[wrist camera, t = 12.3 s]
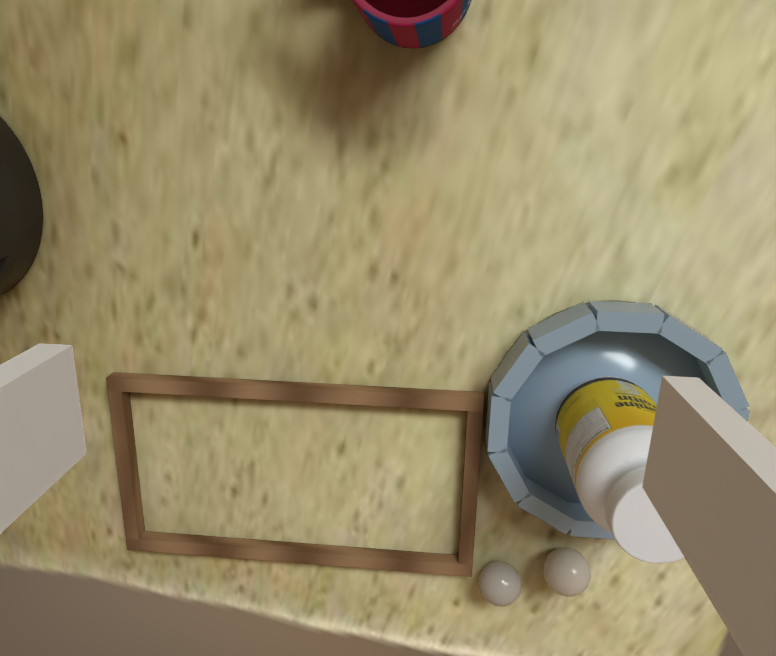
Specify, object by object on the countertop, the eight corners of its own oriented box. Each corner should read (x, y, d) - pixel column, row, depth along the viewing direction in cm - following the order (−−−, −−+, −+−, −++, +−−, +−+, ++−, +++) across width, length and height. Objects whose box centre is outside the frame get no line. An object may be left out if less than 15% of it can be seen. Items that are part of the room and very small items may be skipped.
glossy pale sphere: (476, 584, 46) (478, 614, 43) (479, 550, 45) (481, 578, 42) (517, 588, 45) (522, 618, 43) (520, 553, 45) (525, 581, 42)
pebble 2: (538, 573, 45) (544, 605, 42) (542, 536, 44) (549, 565, 41) (582, 577, 45) (592, 609, 42) (587, 539, 44) (598, 569, 41)
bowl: (479, 505, 44) (481, 529, 41) (494, 295, 39) (498, 307, 36) (703, 520, 42) (721, 547, 40) (745, 305, 38) (768, 318, 35)
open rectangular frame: (133, 541, 47) (127, 549, 46) (113, 372, 43) (106, 377, 42) (471, 567, 45) (471, 576, 44) (483, 392, 41) (484, 398, 40)
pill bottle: (672, 432, 40) (760, 543, 29) (583, 479, 41) (635, 601, 30) (622, 353, 39) (694, 437, 28) (533, 404, 40) (567, 503, 29)
